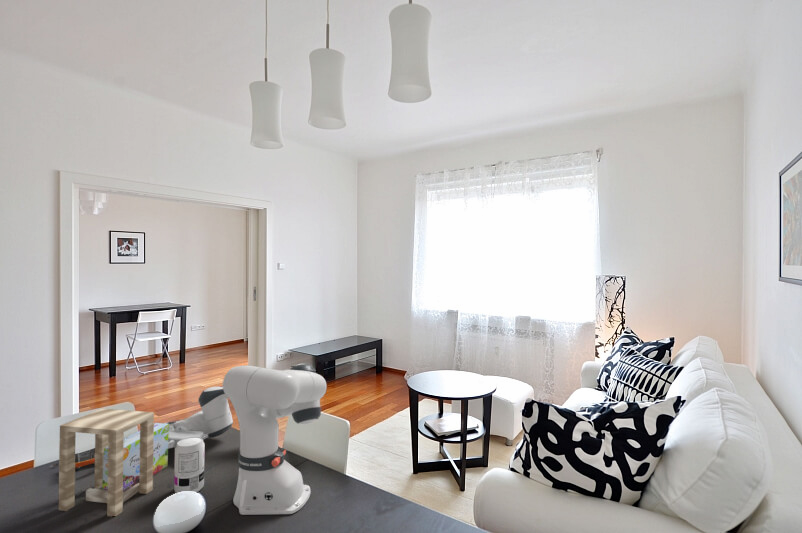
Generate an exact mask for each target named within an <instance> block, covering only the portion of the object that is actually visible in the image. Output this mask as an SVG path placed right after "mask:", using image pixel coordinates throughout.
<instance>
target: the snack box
mask: <svg viewBox="0 0 802 533" xmlns="http://www.w3.org/2000/svg"><path fill="white" fill-rule="evenodd" d="M164 423H165V422H164ZM164 423H161V422H154V436H153V476H154V475H156V474H158V473H159V472H161V471H162V470H164V469H165V468H167V467H168V462H169V461H168V460H169V458H168V457H169V449H168V437H169V424H164ZM139 477H140V430H138V431H136V432H134V433H132V434H131V435H128V436H127V437H125V438H124V443H123V492H125V491H127V490H128V489H130V488H131V487H133V486H134V485H136V484H138V483H139ZM102 490H108V447H106V448H104V459H103V486H102Z"/></svg>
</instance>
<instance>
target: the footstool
mask: <svg viewBox="0 0 802 533" xmlns="http://www.w3.org/2000/svg"><path fill="white" fill-rule="evenodd" d="M154 414H155V412H152V411H141V410H129V409H128V410H127V409H113V408H100V409H98V410H95V411H93V412H91V413H87V414H85V415H83V416H81V417H78V418H76V419H72V420H70V421H68V422H65V423H63V424H61V425H59V446H58V447H59V452H58V453H59V454H58V455H59V458H58V461H59V462H58V466H59V467H58V511H62V512H63V511H64V512H67V511H69V510H70V509H72V508H74V507H76V505H75V504H76V502H75V501H76V500H75V498H76V497H75V494H76V470H75V454H76V433H81V434H92V435H94V448H95V464H94V488H90V487H89V488H88V489H86V490H85V501H86V502H95V503H105V504H107V506H106V507H107V508H106V516H107V517H112V516H116V517H117V516H118V515H120V514H121V513H122V512H123V510H124V509H123V507H124V506H123V504H124V503H125V502H126V501H128V500H129V499H130V498H132V497H133V496H134V495H136V494H137V493H139V494H144V495H147V494H149V493H150V492H151V491H153V490H154V475H153V436H154V423H155V420H154V419H155V415H154ZM138 426H139V431H140V477H139V483H138V484H136V485H134V486H133V487H131V488H130V489H128V490H127V491H125V492H123V443H124V433H125V432H127V431H129V430H131V429H133V428H135V427H138ZM106 447H108V490H102V486H103V459H104V448H106Z"/></svg>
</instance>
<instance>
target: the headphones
mask: <svg viewBox="0 0 802 533" xmlns="http://www.w3.org/2000/svg"><path fill="white" fill-rule="evenodd" d="M85 457H88V458H89V459H87V460H83V461H81V459H84V458H85ZM91 464H92V465H95V447H94V448H92V449H90V451H89V453H88V452H87V453H85V455H80V453H78V452H77V453H75V471H79V470H80V468H81V467H85V466H88V465H91ZM57 465H58V466H59V463H55V464H53V465H50V466H49V467H50V468H51V467H56V466H57Z"/></svg>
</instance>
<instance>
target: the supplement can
mask: <svg viewBox="0 0 802 533" xmlns="http://www.w3.org/2000/svg"><path fill="white" fill-rule="evenodd" d="M205 445H206V444H205V442H204V441H203V439H202V438H200V437H188V438H185V439H182V440H180V441H179V442H178V443H177V446H176V448H175V447H174V473H173V474H174V480H173V481H174V482H173V484H174V486H173V488H174V489H173V490H174V492H175V494H177V492H181V491H196V493H198V492H199V491H201V489H203V487H204V486H205V451H206V450H205V448H206V447H205Z"/></svg>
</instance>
